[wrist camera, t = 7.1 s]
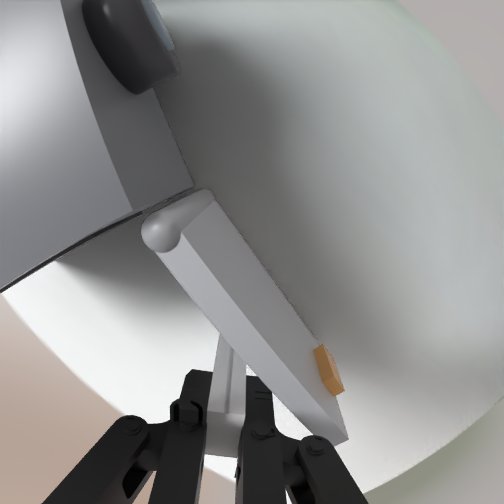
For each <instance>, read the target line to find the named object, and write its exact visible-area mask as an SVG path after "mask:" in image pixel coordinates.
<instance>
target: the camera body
mask: <svg viewBox="0 0 504 504" xmlns="http://www.w3.org/2000/svg"><path fill="white" fill-rule="evenodd" d="M173 49H174V44H173V41H172V39H171V36H170V34H169V32H168V29H167V27H166V25H165V23H164V21H163V19H162V17H161V15H160V13H159V12H158V10H157V8H156V6H155V4H154V3H153V1H152V0H0V293H2V292H4V291H5V290H7V289H8V288H10V287H12V286H13V285H15V284H16V283H18V282H20V281H21V280H23V279H25V278H26V277H28V276H30V275H31V274H33V273H35V272H36V271H38V270H40V269H41V268H43V267H45V266H46V265H48V264H50V263H52V262H53V261H55V260H57V259H59V258H60V257H62V256H64V255H66V254H67V253H69V252H71V251H73V250H74V249H76V248H78V247H80V246H82V245H83V244H85V243H87V242H89V241H91V240H92V239H94V238H96V237H98V236H100V235H102V234H104V233H106V232H107V231H109V230H111V229H113V228H115V227H117V226H119V225H121V224H123V223H125V222H127V221H129V220H131V219H133V218H135V217H137V216H139V215H141V214H143V213H142V211H143V210H145V209H147V208H149V207H151V206H153V205H155V204H157V203H159V202H162V201H164V200H166V199H168V198H170V197H172V196H174V195H176V194H178V193H181V192H183V191H185V190H187V189H189V188H191V187H194V186H195V185H194V182H193V180H192V178H191V176H190V173H189V171H188V169H187V166H186V164H185V162H184V159H183V157H182V155H181V152H180V150H179V148H178V145H177V143H176V141H175V138H174V136H173V134H172V131H171V129H170V127H169V124H168V122H167V119H166V117H165V115H164V112H163V110H162V107H161V105H160V103H159V100H158V98H157V95H156V93H155V91H154V88H153V87H154V86H156V85H158V84H160V83H162V82H164V81H166V80H168V79H170V78H172V77H174V76H176V75H178V74H180V68H179V64H178V61H177V58H176V56H175V53H174V51H173Z"/></svg>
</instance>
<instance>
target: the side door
mask: <svg viewBox="0 0 504 504" xmlns="http://www.w3.org/2000/svg"><path fill="white" fill-rule="evenodd" d="M141 235H142V238H143V241H144V243H145V244H146V245H147V247H148V248H150V249H151V250H153V251H155V252H156V254H157V255H158V256H159V258H160V259H161V260H162V262H163V263H164V264H165V266H166V267H167V268H168V270H169V271H170V272H171V273H172V275H173V276H174V277H175V279H176V280H177V281H178V282H179V284H180V285H181V286H182V287H183V289H184V290H185V291H186V292H187V294H188V295H189V296H190V297H191V299H192V300H193V301H194V302H195V304H196V305H197V306H198V307H199V309H200V310H201V311H202V312H203V313H204V315H205V316H206V317H207V318H208V320H209V321H210V322H211V323H212V324H213V326H214V327H215V328H216V329H217V330H218V331H219V333H220V334H221V335H222V336H223V337H224V339H225V340H226V341H227V342H228V343H229V344H230V346H231V347H232V348H233V349H234V350H235V351H236V352H237V354H238V355H239V356H240V357H241V358H242V359H243V360H244V362H245V363H246V364H247V365H248V366H249V367H250V368H251V369H252V370H253V372H254V373H255V374H256V375H257V376H258V377H259V378H260V379H261V380H262V382H263V383H264V384H265V385H266V386H267V387H268V388H269V389H270V390H271V391H272V392H273V393H274V394H275V396H276V397H277V398H278V399H279V400H280V401H281V402H282V403H283V404H284V405H285V406H286V407H287V408H288V409H289V410H290V411H291V412H292V413H293V414H294V415H295V417H296V418H297V419H298V420H299V421H300V422H301V423H302V424H303V425H304V426H305V427H306V428H307V429H308V430H309V431H310V432H311V433H312V434H313V435H317V436H321V437H324V438H326V439H327V440H329V441H330V442H331V444H332V445H333V447H334V446H336V445H338V444H340V443H343V442H345V441H347V440H349V438H348V434H347V431H346V428H345V425H344V421H343V418H342V415H341V412H340V408H339V405H338V402H337V399H336V395H338V394H340V393H342V392H343V391H345V390H344V387H343V385H342V382H341V379H340V376H339V374H338V371H337V368H336V365H335V363H334V360H333V358H332V356H331V355H330V354H329V352H328V351H327V349H326V348H325V346H324V345H323V344H322V345H320V346H319V344H318V342H317V341H316V339H315V338H314V337H313V335H312V334H311V332H310V331H309V330H308V328H307V327H306V325H305V324H304V323H303V321H302V320H301V318H300V317H299V316H298V314H297V313H296V311H295V310H294V309H293V307H292V306H291V304H290V303H289V302H288V300H287V299H286V297H285V296H284V295H283V293H282V292H281V291H280V289H279V288H278V286H277V285H276V284H275V282H274V281H273V279H272V278H271V277H270V275H269V274H268V272H267V271H266V270H265V268H264V267H263V265H262V264H261V263H260V261H259V260H258V258H257V257H256V256H255V254H254V253H253V251H252V250H251V249H250V247H249V246H248V245H247V243H246V242H245V240H244V239H243V238H242V236H241V235H240V233H239V232H238V231H237V229H236V228H235V226H234V225H233V224H232V222H231V221H230V219H229V218H228V217H227V215H226V214H225V212H224V211H223V210H222V208H221V207H220V205H219V204H218V203H217V201H216V200H215V196H214V194H213V193H212V192H211V191H210V190H208V189H201V190H198V191H196V192H194V193H192V194H190V195H188V196H186V197H184V198H182V199H180V200H178V201H176V202H174V203H172V204H170V205H168V206H166V207H164V208H162V209H160V210H158V211H156V212H154V213H152V214H150V215H149V216H148V217H146V219H145V220H144V222H143V224H142V228H141Z"/></svg>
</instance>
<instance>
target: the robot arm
mask: <svg viewBox="0 0 504 504" xmlns="http://www.w3.org/2000/svg"><path fill="white" fill-rule="evenodd" d="M272 400H273V398H272V391H271V390H270V389H269V388H268V387H267V386H266V385H265V384H264V383H263V382H262V380H261V379H260V378H259V377H258V376H247V375H246V363H245V362H244V360H243V359H242V358H241V357H240V356H239V355H238V354H237V352H236V351H235V350H234V349H233V348H232V347H231V346H230V344H229V343H228V342H227V341H226V340H225V339H224V337H223V336H222V335H221V334H220V335H219V340H218V346H217V352H216V358H215V364H214V370H213V372H208V371H201V370H195V369H192V370H191V371H190V372H189V373H188V374H187V375H186V377H185V380H184V384H183V387H182V391H181V395H180V398H179V399H177V400H175V401H174V402H172V404H171V405H170V420H168V421H166V422H164V423H158V424H147V422H146V421H145V420H144V419H142V418H141V417H138V416H134V415H126V416H123V417H121V418H119V419H118V420H116V421H115V423H114V424H113V425H112V426H111V427H110V428H109V429H108V430H107V432H106V433H105V434H104V435H103V436H102V437H101V438H100V439H99V441H98V442H97V443H96V444H95V445H94V446H93V447H92V448H91V449H90V451H89V452H88V453H87V454H86V455H85V456H84V458H82V460H81V461H80V462H79V463H78V464H77V465H76V466H75V468H74V469H73V470H72V471H71V472H70V473H69V474H68V475H67V476H66V477H65V478H64V480H63V481H62V482H61V483H60V484H59V485H58V486H57V488H56V489H55V490H54V491H53V492H52V493H51V494H50V495H49V496H48V497H47V498H46V500H45V501H44V502H43V503H42V504H132V503H133V502H134V500H135V499H136V497H137V495H138V494H139V493H140V491H141V490H142V488H143V487H144V485H145V483H146V482H147V481H148V479H149V477H150V476H151V474H152V473H153V471H157V472H156V475H155V479H154V483H153V487H152V491H151V494H150V498H149V502H148V504H198V502H199V494H200V487H201V480H202V472H203V466H204V455H205V454H208V455H216V456H224V457H234V458H237V456H238V459H237V462H238V463H237V468H236V473H235V477H234V478H236V497H235V504H287V501H286V491H287V493H288V496H289V498H290V500H291V502H292V504H368V502H367V501H366V499H365V497H364V496H363V494H362V492H361V491H360V489H359V488H358V486H357V484H356V483H355V481H354V479H353V478H352V476H351V475H350V473H349V471H348V470H347V468H346V466H345V465H344V463H343V461H342V460H341V458H340V457H339V455H338V453H337V452H336V450H335V448H334V447H333V445H332V444H331V442H330V441H329V440H327V439H326V438H324V437H321V436H317V435H310V436H307V437H304V438H303V439H302V440H301V441H300V440H296V439H293V438H290V437H287V436H285V435H283V434H282V433H280V432H279V431H278V429H277V428H276V426H275V420H274V409H273V401H272ZM285 489H286V491H285Z"/></svg>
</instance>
